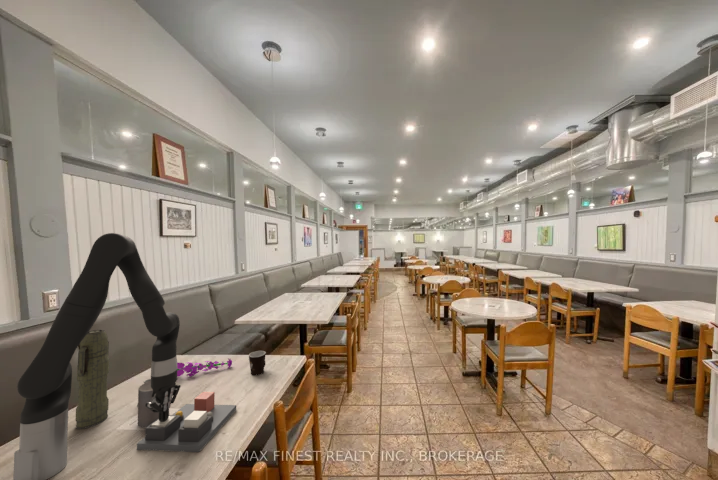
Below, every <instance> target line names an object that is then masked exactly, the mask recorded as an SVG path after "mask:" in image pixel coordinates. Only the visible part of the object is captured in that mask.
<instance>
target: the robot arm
mask: <svg viewBox="0 0 718 480" xmlns="http://www.w3.org/2000/svg"><path fill="white" fill-rule="evenodd" d="M117 267H118V268H119V270H120V271H121V273H122V274H123V276H124V278H125V280H126V283H127V287H128V291H129V293H130V295H131V297H132V299H133V301H135V303H136V306H137V307H138V308H139V311H141V314H142V315H141V316H142V319H143V321H144V324H145V327H146V329H147V331H148V332H149V334H150V335H152V336H153V337H156V341H155V342H154V343H153V345H152V349H151V363H150V379H151V388H152V389H153V393H152V399H151V400H150V402H147V403H146V405H145V406H146V407H147V408H148V409H150V410H151V411H152V412H156V413H159V421H160V422H165V421H166V420H167V419H168V418H169V415H170V408H171V405H173V404H174V403H175V401H176V399H177V395H178V393H179V391H180V390H181V387H182V386H181V384H176V382H177V380H178V377H177V363H178V358H177V356H178V355H177V340H178V336H179V332H180V323H181V322H180V318H179V316H178V314H177V313H175V312H171V311H170V312H166V310H165V308H164V305H165V299H164V297H163V296H162V294H161V292H160V291H159V289H158V288H157V286H156V285H155V283H154V281H153V280H152V278H151V276H150V275H149V273H148V272H147V269H146V268H145V266H144V264H143V261H142V259H141V257H140V254H139V250H138V249H137V245H136V243H135V241H134V240H133V239H131V238H130V237H128V236H126V235H123V234H121V233H120V234H119V233H115V232H110V233H109V232H108V233H105V234H102V235H100V236H99V237H98V238H97V239H96V240H95V241H94V242H93V245H92V247H91V249H90V252H89V253H88V257H87V260H86V261H85V264H84V266H83V269H82V271H81V273H80V274H79V276H78V278H77V279H76V281H75V283H74V285H73V286H72V288H71V290H70V292H69V293H68V295H67V297H66V298H65V299H64V301H63V303H62V305H61V306H60V308H59V310H58V312H57V314H56V316H55V319H54V320H53V323H52V325H51V326H50V329H49V331H48V334H47V336H46V338H45V340H44V343H43V344H42V346H41V347H40V350H39V351H38V352H37V354H36V356H35V357H34V358H33V360H32V362H31V363H29V366H28V367H27V368H26V370H25V371H24V373H23V374H22V375H21V376H20V378H19V380H18V382H17V386H16V388H17V392H18V394H19V395H20V396H21V397H22V398H24V399H25V403H24V405H23V408H22V410H21V411H20V412H21V413H20V417H19V418H20V420H19V422H20V423H19V424H20V425H19V446H18V447H19V449H17V450H16V451H14V453H13V454H14V455H13V477H12V478H13V479H12V480H48V479H50V478H52V477H54V476H55V475H57V474H58V473H60V472H61V471H62V470H63V469H64V468H65V467H66V466H67V464H68V432H69V431H68V429H69V427H68V426H69V405H70V404H69V402H70V399H71V393H72V379H73V366H72V363H71V361H72V358H73V356H74V354H75V352H76V350H77V349H78V347H79V346H80V343H81V341H82V340H83V339H84V337H85V336H86V335H87V333H88V332H89V331H91V329H92V327H93V326H94V325H95V323H96V322H97V320H98V319H99V316H100V314H101V312H102V310H103V308H104V306H105V305H106V302H107V298H108V294H109V289H110V287H109V286H110V281H111V277H112V275H113V273H114V271H115V269H116V268H117ZM161 405H162V407H161Z"/></svg>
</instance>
